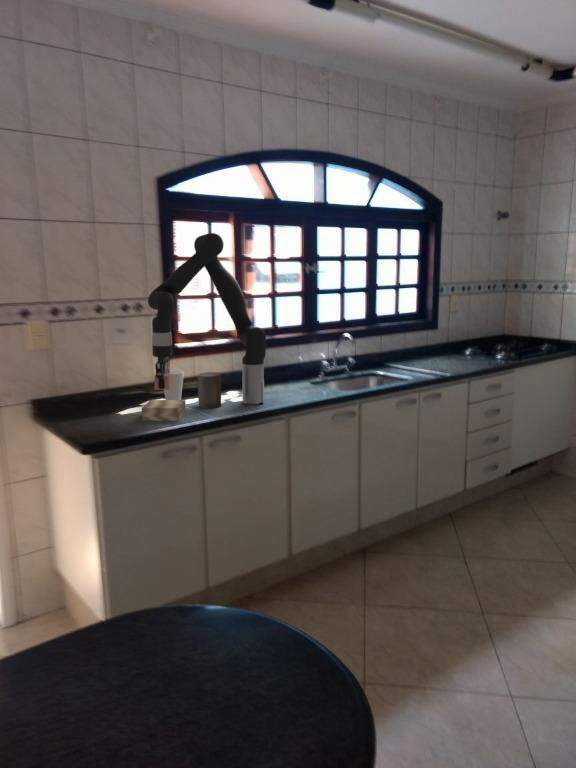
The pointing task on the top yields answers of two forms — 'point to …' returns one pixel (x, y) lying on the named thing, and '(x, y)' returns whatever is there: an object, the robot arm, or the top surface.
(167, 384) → the terracotta cube
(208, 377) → the pillar candle
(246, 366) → the robot arm
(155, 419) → the birch plinth
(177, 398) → the foam cup
